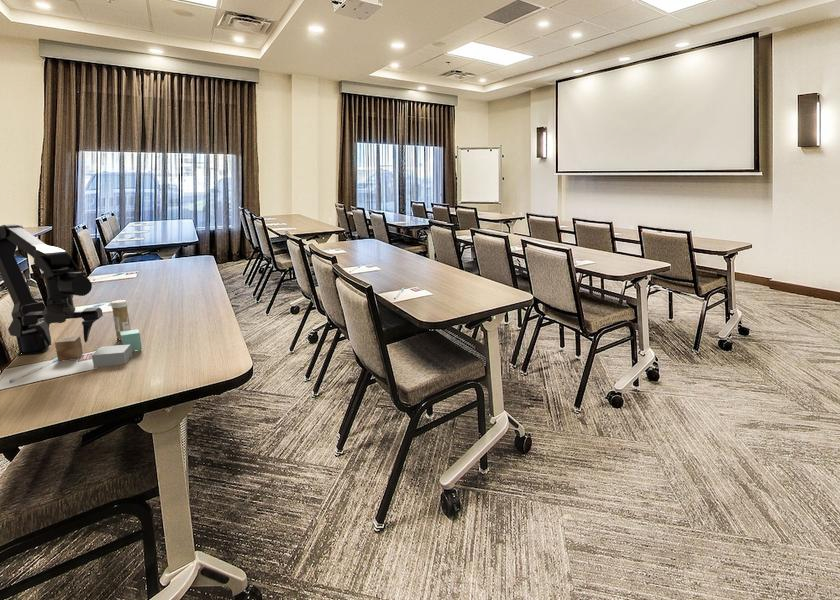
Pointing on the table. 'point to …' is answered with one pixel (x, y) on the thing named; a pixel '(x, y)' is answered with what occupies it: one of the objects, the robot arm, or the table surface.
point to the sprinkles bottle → (120, 316)
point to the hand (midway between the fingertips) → (68, 343)
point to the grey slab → (112, 355)
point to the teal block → (131, 339)
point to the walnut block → (68, 348)
